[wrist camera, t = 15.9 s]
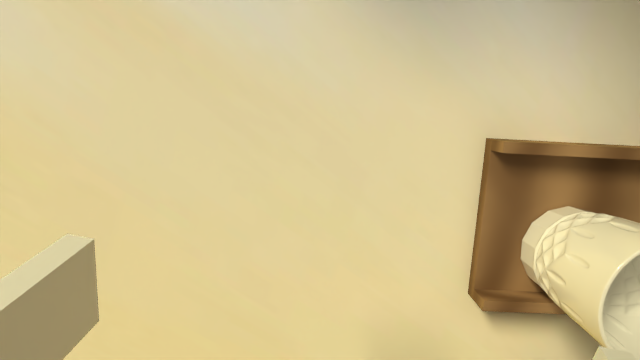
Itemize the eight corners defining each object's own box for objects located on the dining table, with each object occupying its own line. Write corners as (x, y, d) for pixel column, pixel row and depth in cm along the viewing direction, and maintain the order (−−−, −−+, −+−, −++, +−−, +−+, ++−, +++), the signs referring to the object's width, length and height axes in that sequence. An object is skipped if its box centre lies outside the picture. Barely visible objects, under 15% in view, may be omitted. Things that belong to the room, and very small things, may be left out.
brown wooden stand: (468, 293, 34) (532, 368, 24) (486, 138, 32) (565, 152, 22) (659, 300, 35) (798, 376, 25) (690, 149, 33) (854, 167, 23)
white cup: (499, 285, 33) (579, 360, 23) (529, 188, 32) (627, 224, 22) (593, 304, 34) (711, 386, 24) (627, 210, 32) (766, 255, 23)
